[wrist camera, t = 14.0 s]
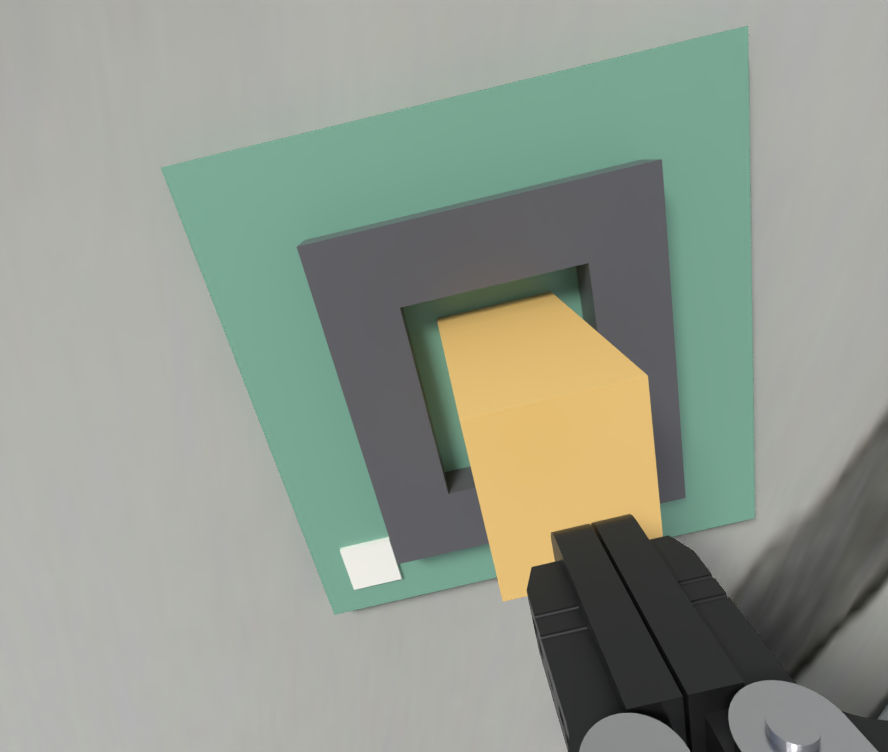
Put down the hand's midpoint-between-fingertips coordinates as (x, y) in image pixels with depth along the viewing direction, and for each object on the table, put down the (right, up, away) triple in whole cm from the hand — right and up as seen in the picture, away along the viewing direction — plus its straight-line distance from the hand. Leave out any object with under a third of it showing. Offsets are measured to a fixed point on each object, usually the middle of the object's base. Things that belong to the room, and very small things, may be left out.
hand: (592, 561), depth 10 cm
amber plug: (-1, +4, +10) cm, 10 cm away
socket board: (-1, +4, +10) cm, 11 cm away
